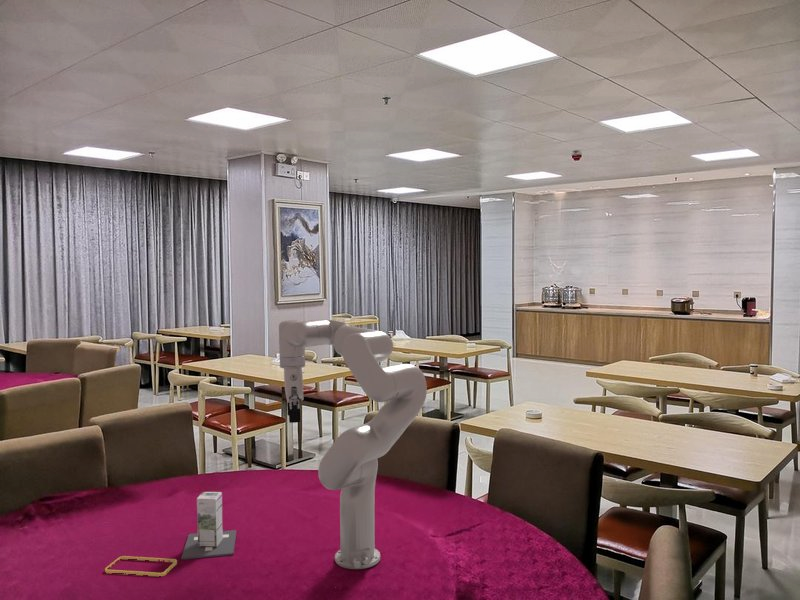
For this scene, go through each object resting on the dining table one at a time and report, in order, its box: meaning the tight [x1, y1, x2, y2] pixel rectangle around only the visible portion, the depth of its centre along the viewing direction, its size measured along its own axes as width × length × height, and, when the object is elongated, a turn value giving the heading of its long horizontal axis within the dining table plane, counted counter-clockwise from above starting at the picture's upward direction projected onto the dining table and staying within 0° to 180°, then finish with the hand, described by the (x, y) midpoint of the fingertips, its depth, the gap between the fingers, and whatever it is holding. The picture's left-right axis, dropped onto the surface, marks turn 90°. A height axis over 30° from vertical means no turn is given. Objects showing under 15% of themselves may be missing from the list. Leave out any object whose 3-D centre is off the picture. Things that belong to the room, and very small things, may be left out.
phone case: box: [104, 555, 178, 577], centre depth 171 cm, size 8×17×1 cm, turn 82°
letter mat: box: [180, 529, 237, 560], centre depth 184 cm, size 16×14×1 cm
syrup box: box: [196, 491, 224, 547], centre depth 184 cm, size 6×6×14 cm
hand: (293, 418), depth 189 cm, fingers open, 9 cm apart
